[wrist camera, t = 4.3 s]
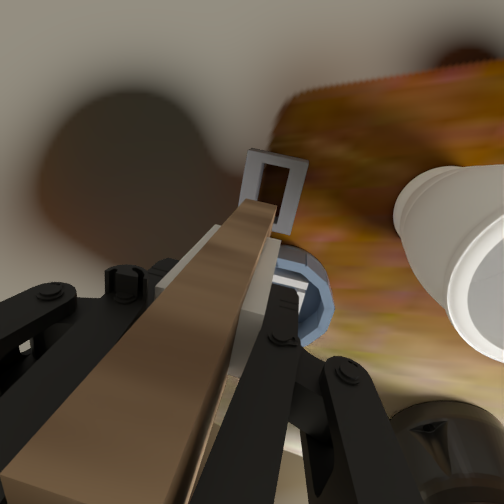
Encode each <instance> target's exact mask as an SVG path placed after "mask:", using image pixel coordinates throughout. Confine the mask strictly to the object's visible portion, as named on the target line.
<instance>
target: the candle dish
mask: <svg viewBox="0 0 504 504" xmlns="http://www.w3.org/2000/svg"><path fill="white" fill-rule="evenodd" d="M272 283H273V284H277V285H281V286H285V287H289V288H293V289H295V290H296V292H297V294H298V295H299V311H298V312H299V316H298V337H299V339H300V340H301V345H302V347H305V346H307V345H309V344H310V343H312V342H313V341H314V340H316V339H317V338H318V337H320V336H321V335H323V334H324V333H325V332H326V331H327V329H328V326H329V324H330V321H331V318H332V316H333V313H334V310H335V306H334V300H333V294H332V290H331V287H330V283H329V278H328V275H327V272H326V270H325V268H324V267H323V265H322V264H321V263H320V262H319V261H318V259H317V258H316V257H314V256H313V255H312V254H310V253H309V252H307V251H305V250H303V249H301V248H298V247H295V246H291V245H283V244H280V248H279V253H278V257H277V262H276V266H275V271H274V275H273V280H272Z"/></svg>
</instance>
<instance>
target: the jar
mask: <svg viewBox="0 0 504 504" xmlns="http://www.w3.org/2000/svg"><path fill="white" fill-rule="evenodd" d="M393 221H394V226H395V229H396V231H397V233H398V235H399V236H400V238H401V241H402V244H403V247H404V250H405V253H406V256H407V259H408V261H409V264H410V266H411V268H412V270H413V272H414V274H415V276H416V277H417V279H418V280H419V282H420V283H421V284H422V286H423V287H424V288H425V290H426V291H427V292H428V293H429V294H430V295H431V296H432V297H433V298H434V299H435V300H436V301H437V302H438V303H439V304H440V305H441V306H442V307H443V308H444V309H445V310H446V313H447V315H448V318H449V320H450V322H451V323H452V325H453V326H454V328H455V329H456V330H457V332H458V333H459V334H460V336H461V337H462V338H463V339H464V340H465V341H466V342H467V343H468V344H469V345H470V346H471V347H473V348H474V349H475V350H477V351H478V352H480V353H482V354H483V355H485V356H487V357H489V358H492V359H494V360H497V361H499V362H502V363H504V165H487V166H469V167H458V166H444V167H438V168H434V169H431V170H428V171H426V172H424V173H422V174H420V175H418V176H417V177H415V178H414V179H413V180H412V181H410V182H409V183H408V184H407V185H406V186H405V187H404V189H403V190H402V191H401V193H400V194H399V196H398V198H397V200H396V203H395V206H394V211H393Z"/></svg>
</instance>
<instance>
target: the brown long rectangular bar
mask: <svg viewBox="0 0 504 504" xmlns="http://www.w3.org/2000/svg"><path fill="white" fill-rule="evenodd" d="M276 209H277V205H273V204H268V203H264V202H260V201H255V200H251V199H247V198H246V199H245V200H244V201H243V202H242V203H241V205H240V206H239V207H238V208H237V209H236V210H235V211H234V212H233V214H232V215H231V216H230V217H229V218H228V219H227V220H226V221H225V223H224V224H223V225H222V226H221V227H220V228H219V229H218V230H217V231H216V233H215V234H214V235H213V236H212V237H211V238H210V239H209V240H208V241H207V243H206V244H205V245H204V246H203V247H202V248H201V249H200V250H199V252H198V253H197V254H196V255H195V256H194V257H193V258H192V259H191V260H190V262H189V263H188V264H187V265H186V266H185V267H184V268H183V269H182V271H181V272H180V273H179V274H178V275H177V276H176V277H175V278H174V280H173V281H172V282H171V283H170V284H169V285H168V286H167V287H166V288H165V290H164V291H163V292H162V293H161V294H160V295H159V296H158V297H157V299H156V300H155V301H154V302H153V303H152V304H151V305H150V306H149V307H148V309H147V310H146V311H145V312H144V313H143V314H142V315H141V316H140V318H139V319H138V320H137V321H136V322H135V323H134V324H133V325H132V326H131V328H130V329H129V330H128V331H127V332H126V333H125V334H124V335H123V337H122V338H121V339H120V340H119V341H118V342H117V343H116V344H115V345H114V347H113V348H112V349H111V350H110V351H109V352H108V353H107V354H106V356H105V357H104V358H103V359H102V360H101V361H100V362H99V363H98V364H97V366H96V367H95V368H94V369H93V370H92V371H91V372H90V373H89V375H88V376H87V377H86V378H85V379H84V380H83V381H82V382H81V383H80V385H79V386H78V387H77V388H76V389H75V390H74V391H73V392H72V394H71V395H70V396H69V397H68V398H67V399H66V400H65V401H64V403H63V404H62V405H61V406H60V407H59V408H58V409H57V410H56V411H55V413H54V414H53V415H52V416H51V417H50V418H49V419H48V420H47V422H46V423H45V424H44V425H43V426H42V427H41V428H40V429H39V430H38V432H37V433H36V434H35V435H34V436H33V437H32V438H31V439H30V441H29V442H28V443H27V444H26V445H25V446H24V447H23V448H22V449H21V451H20V452H19V453H18V454H17V455H16V456H15V457H14V458H13V460H12V461H11V462H10V463H9V464H8V465H7V466H6V467H5V468H4V470H3V471H2V472H1V473H0V479H1V482H2V486H3V489H4V493H5V496H6V500H7V503H8V504H188V501H189V498H190V495H191V491H192V488H193V485H194V482H195V479H196V476H197V473H198V469H199V466H200V463H201V460H202V457H203V454H204V450H205V447H206V444H207V441H208V438H209V435H210V431H211V428H212V425H213V422H214V419H215V416H216V413H217V410H218V406H219V403H220V400H221V397H222V394H223V391H224V387H225V384H226V381H227V378H228V375H227V373H228V368H229V364H230V359H231V354H232V349H233V345H234V340H235V335H236V330H237V326H238V321H239V316H240V311H241V308H242V305H243V302H244V299H245V297H246V294H247V291H248V288H249V286H250V283H251V280H252V277H253V275H254V272H255V269H256V266H257V264H258V261H259V258H260V255H261V253H262V250H263V247H264V245H265V242H266V239H267V237H270V235H271V231H272V226H273V222H274V218H275V213H276Z"/></svg>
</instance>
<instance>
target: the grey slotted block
mask: <svg viewBox="0 0 504 504" xmlns="http://www.w3.org/2000/svg"><path fill="white" fill-rule="evenodd" d="M265 163H267V164H271V165H276V166H280V167H285V168H289V169H290V171H289V176H288V180H287V184H286V188H285V193H284V197H283V201H282V205H281V209H280V214H279V217H276V216H275V218H274V222H273V226H272V231H274V232H278V233H282V234H286V235H290V233H291V230H292V226H293V222H294V218H295V214H296V210H297V207H298V203H299V199H300V195H301V191H302V188H303V184H304V180H305V176H306V172H307V169H308V165H309V160H305V159H301V158H296V157H291V156H287V155H282V154H277V153H273V152H268V151H264V150H259V149H254V148H251V149H249V150H248V152H247V157H246V163H245V169H244V175H243V180H242V186H241V192H240V198H239V204H238V207H239V206H240V205H241V203H242V202H243V201H244V200H245V199H246V198H247V199H251V200H255V201H257V200H258V195H259V190H260V185H261V180H262V175H263V170H264V165H265Z"/></svg>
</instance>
